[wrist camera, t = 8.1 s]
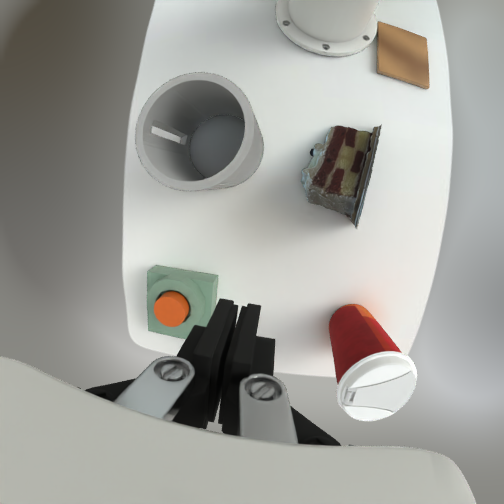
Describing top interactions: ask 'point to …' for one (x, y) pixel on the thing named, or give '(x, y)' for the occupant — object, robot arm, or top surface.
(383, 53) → the cork trivet
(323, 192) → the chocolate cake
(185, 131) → the cup
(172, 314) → the power button
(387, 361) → the paper cup
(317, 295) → the top surface
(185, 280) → the button base
